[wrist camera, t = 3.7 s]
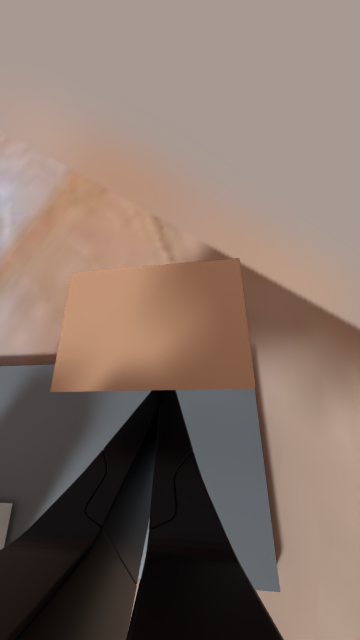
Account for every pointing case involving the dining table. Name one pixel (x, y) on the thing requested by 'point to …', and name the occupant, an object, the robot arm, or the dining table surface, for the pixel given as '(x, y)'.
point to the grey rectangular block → (4, 521)
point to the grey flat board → (99, 428)
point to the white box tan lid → (155, 329)
